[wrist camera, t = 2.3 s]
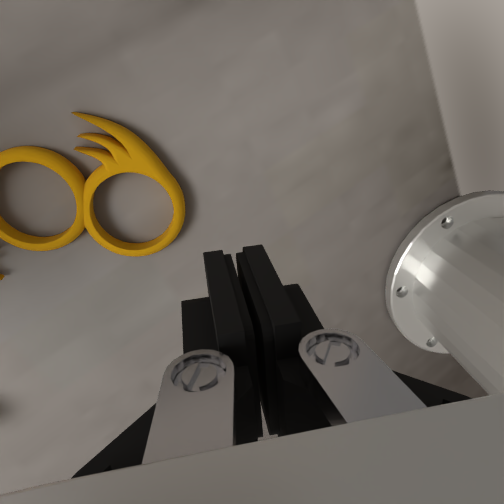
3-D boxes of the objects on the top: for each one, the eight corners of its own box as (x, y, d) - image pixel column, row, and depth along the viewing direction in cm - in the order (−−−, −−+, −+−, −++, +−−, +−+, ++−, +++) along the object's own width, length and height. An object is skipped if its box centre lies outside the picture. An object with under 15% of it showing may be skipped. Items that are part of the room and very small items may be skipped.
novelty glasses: (-149, 82, 20) (-111, 266, 24) (-173, 83, 19) (-128, 278, 23) (191, 125, 24) (178, 280, 28) (192, 129, 23) (178, 292, 26)
